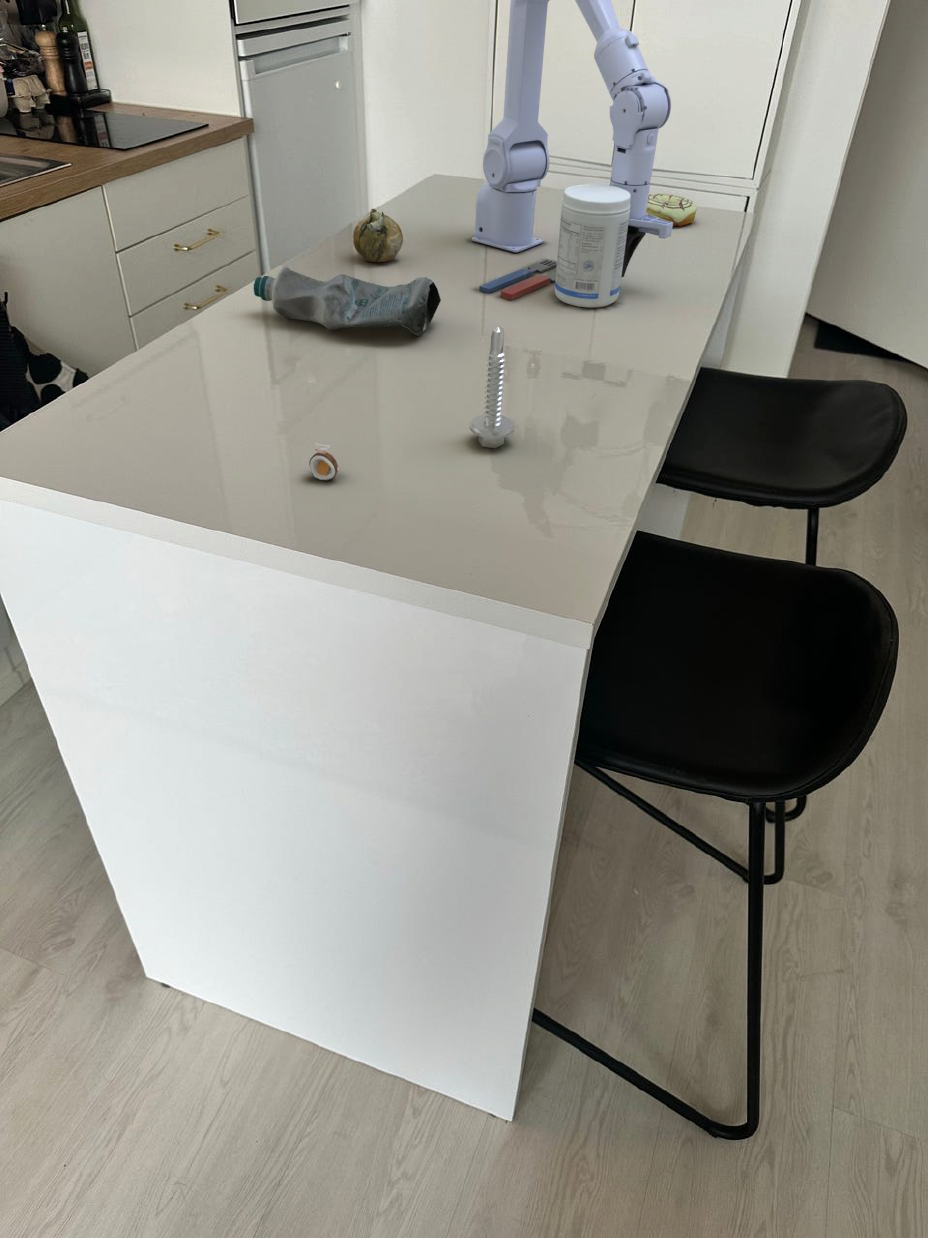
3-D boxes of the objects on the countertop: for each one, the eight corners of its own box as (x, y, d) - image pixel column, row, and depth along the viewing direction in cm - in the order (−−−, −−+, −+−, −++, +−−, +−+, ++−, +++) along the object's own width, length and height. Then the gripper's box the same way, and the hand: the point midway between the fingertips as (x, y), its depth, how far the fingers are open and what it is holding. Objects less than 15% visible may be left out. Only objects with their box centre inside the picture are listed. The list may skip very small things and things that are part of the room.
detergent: (447, 316, 128) (278, 290, 132) (449, 265, 123) (273, 240, 127) (422, 359, 119) (241, 331, 122) (422, 306, 114) (233, 278, 118)
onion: (412, 262, 146) (413, 209, 141) (368, 270, 142) (367, 215, 137) (388, 249, 151) (387, 197, 146) (345, 256, 147) (343, 203, 142)
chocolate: (345, 474, 93) (343, 439, 91) (335, 485, 92) (333, 449, 89) (318, 468, 94) (316, 433, 92) (308, 478, 93) (305, 443, 90)
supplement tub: (592, 283, 141) (604, 179, 132) (631, 303, 135) (647, 196, 126) (540, 292, 137) (549, 186, 128) (578, 313, 131) (591, 204, 122)
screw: (504, 430, 102) (519, 450, 99) (463, 434, 101) (476, 455, 98) (513, 314, 94) (529, 332, 91) (468, 318, 93) (482, 336, 89)
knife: (511, 300, 134) (512, 294, 134) (500, 296, 135) (500, 290, 135) (585, 268, 147) (585, 262, 146) (574, 265, 148) (574, 259, 147)
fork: (490, 294, 136) (491, 289, 136) (477, 289, 137) (477, 285, 137) (559, 265, 148) (560, 260, 147) (546, 261, 149) (547, 256, 148)
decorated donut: (686, 231, 165) (690, 209, 162) (628, 222, 168) (632, 200, 166) (699, 217, 172) (703, 195, 170) (644, 208, 175) (647, 187, 173)
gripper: (689, 185, 131) (672, 281, 139) (601, 166, 137) (590, 259, 146) (665, 194, 126) (649, 293, 135) (576, 174, 133) (566, 270, 141)
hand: (617, 276), depth 140 cm, fingers closed
